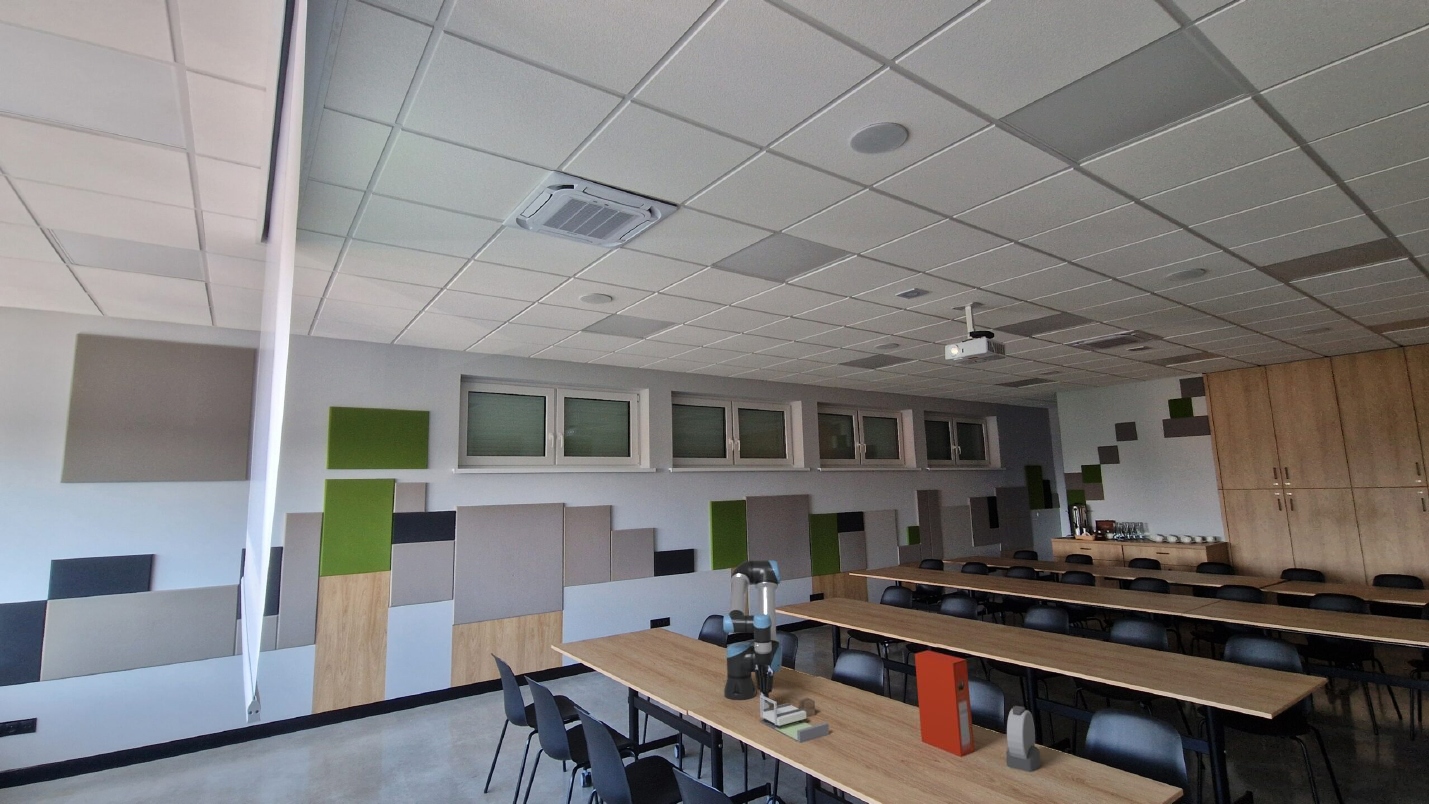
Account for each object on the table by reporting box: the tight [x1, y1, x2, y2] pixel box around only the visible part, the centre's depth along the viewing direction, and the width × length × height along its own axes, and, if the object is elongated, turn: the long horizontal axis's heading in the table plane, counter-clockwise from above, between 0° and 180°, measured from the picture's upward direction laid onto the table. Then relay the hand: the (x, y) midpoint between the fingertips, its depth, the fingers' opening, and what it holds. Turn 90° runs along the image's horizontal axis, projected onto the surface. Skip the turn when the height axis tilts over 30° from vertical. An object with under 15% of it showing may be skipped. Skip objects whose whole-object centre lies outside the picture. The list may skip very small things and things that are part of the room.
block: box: [797, 697, 816, 719], centre depth 269 cm, size 5×5×6 cm
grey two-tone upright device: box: [1005, 705, 1042, 773], centre depth 217 cm, size 16×10×18 cm, turn 141°
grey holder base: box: [758, 718, 830, 744], centre depth 254 cm, size 28×14×4 cm, turn 31°
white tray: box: [759, 694, 807, 728], centre depth 260 cm, size 13×15×10 cm
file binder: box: [914, 649, 975, 758], centre depth 234 cm, size 8×17×32 cm, turn 32°
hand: (765, 708), depth 271 cm, fingers closed
